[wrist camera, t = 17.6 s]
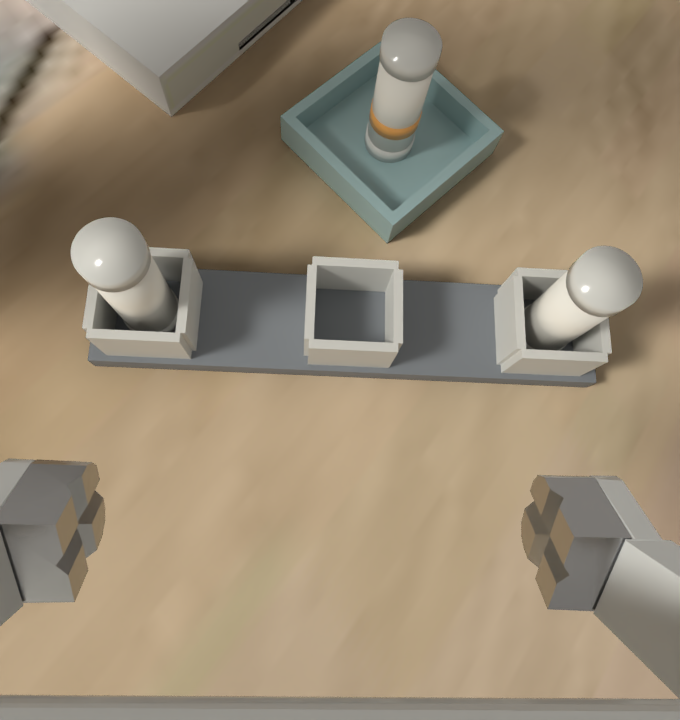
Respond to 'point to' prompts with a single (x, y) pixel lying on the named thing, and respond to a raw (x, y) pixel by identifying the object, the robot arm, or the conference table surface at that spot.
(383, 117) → the marked fuse
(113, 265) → the peg
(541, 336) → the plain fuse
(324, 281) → the fuse holder
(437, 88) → the tray
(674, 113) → the conference table surface
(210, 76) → the disc drive
